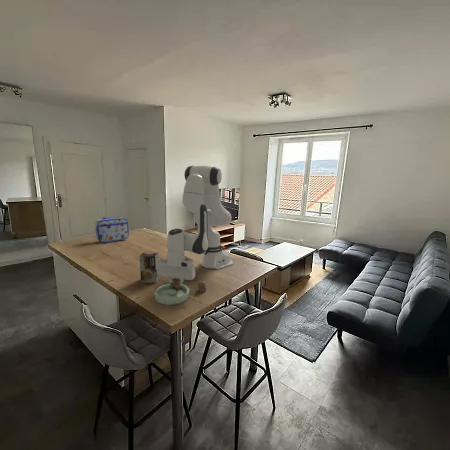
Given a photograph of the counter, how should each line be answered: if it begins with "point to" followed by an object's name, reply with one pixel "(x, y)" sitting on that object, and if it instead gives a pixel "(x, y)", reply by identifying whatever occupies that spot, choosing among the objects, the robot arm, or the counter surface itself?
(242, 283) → the counter surface
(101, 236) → the lunch box
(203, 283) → the brown short cylinder
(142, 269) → the coffee box
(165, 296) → the tray
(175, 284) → the bead
